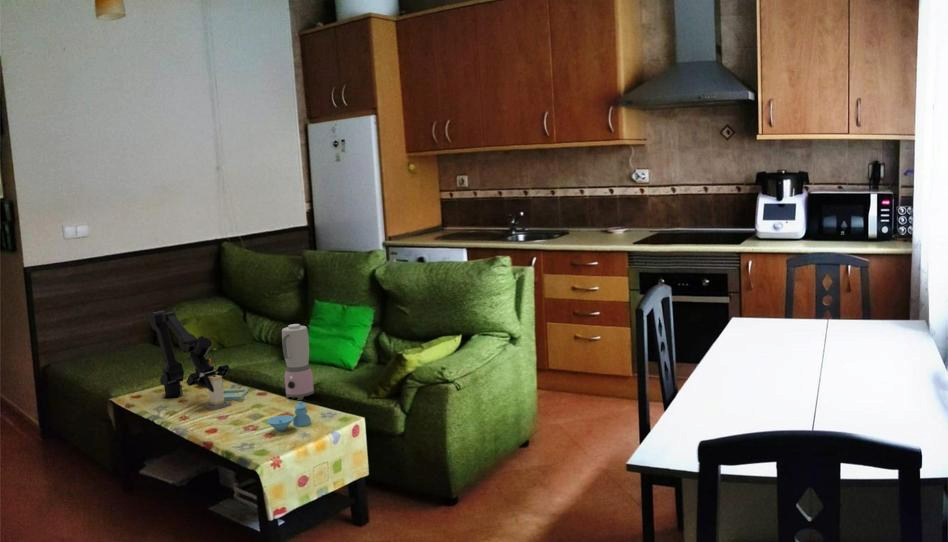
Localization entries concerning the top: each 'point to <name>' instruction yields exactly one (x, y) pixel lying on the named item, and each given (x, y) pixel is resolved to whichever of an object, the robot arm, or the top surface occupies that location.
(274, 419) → the blue small pieces
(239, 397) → the parts tray
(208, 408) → the small gray square tray
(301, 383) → the blender
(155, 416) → the top surface
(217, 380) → the block
